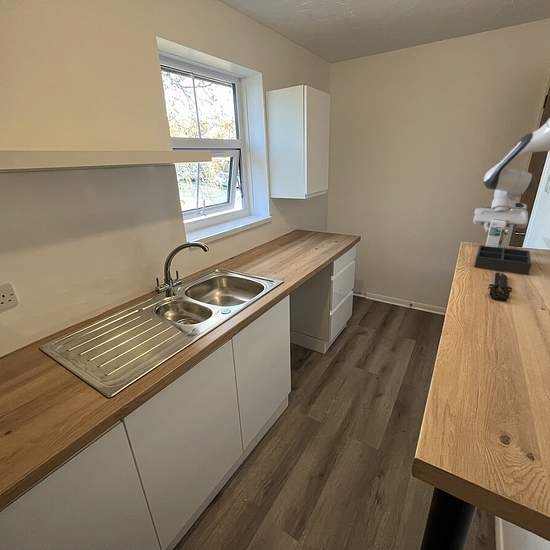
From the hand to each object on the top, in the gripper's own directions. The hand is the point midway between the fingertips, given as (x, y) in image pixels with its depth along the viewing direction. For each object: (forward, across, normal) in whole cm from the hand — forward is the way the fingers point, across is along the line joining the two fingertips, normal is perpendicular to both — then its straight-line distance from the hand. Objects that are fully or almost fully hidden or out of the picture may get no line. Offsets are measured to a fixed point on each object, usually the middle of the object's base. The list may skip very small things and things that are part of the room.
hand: (496, 233), depth 136 cm
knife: (+36, +4, -24) cm, 44 cm away
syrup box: (+6, 0, +6) cm, 9 cm away
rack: (+19, +4, -7) cm, 20 cm away
